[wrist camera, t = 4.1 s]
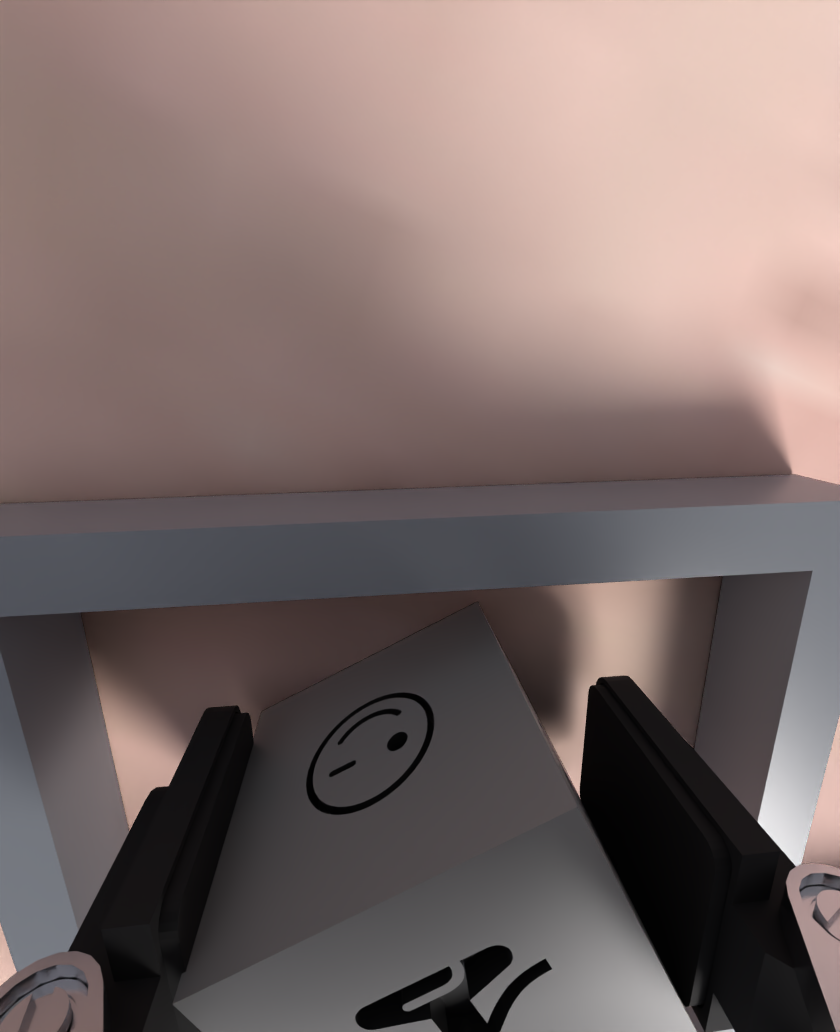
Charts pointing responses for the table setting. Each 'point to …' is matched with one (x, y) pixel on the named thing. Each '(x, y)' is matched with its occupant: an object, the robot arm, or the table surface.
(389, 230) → the table surface
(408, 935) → the dice cube
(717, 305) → the table surface
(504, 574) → the gray rectangular frame
